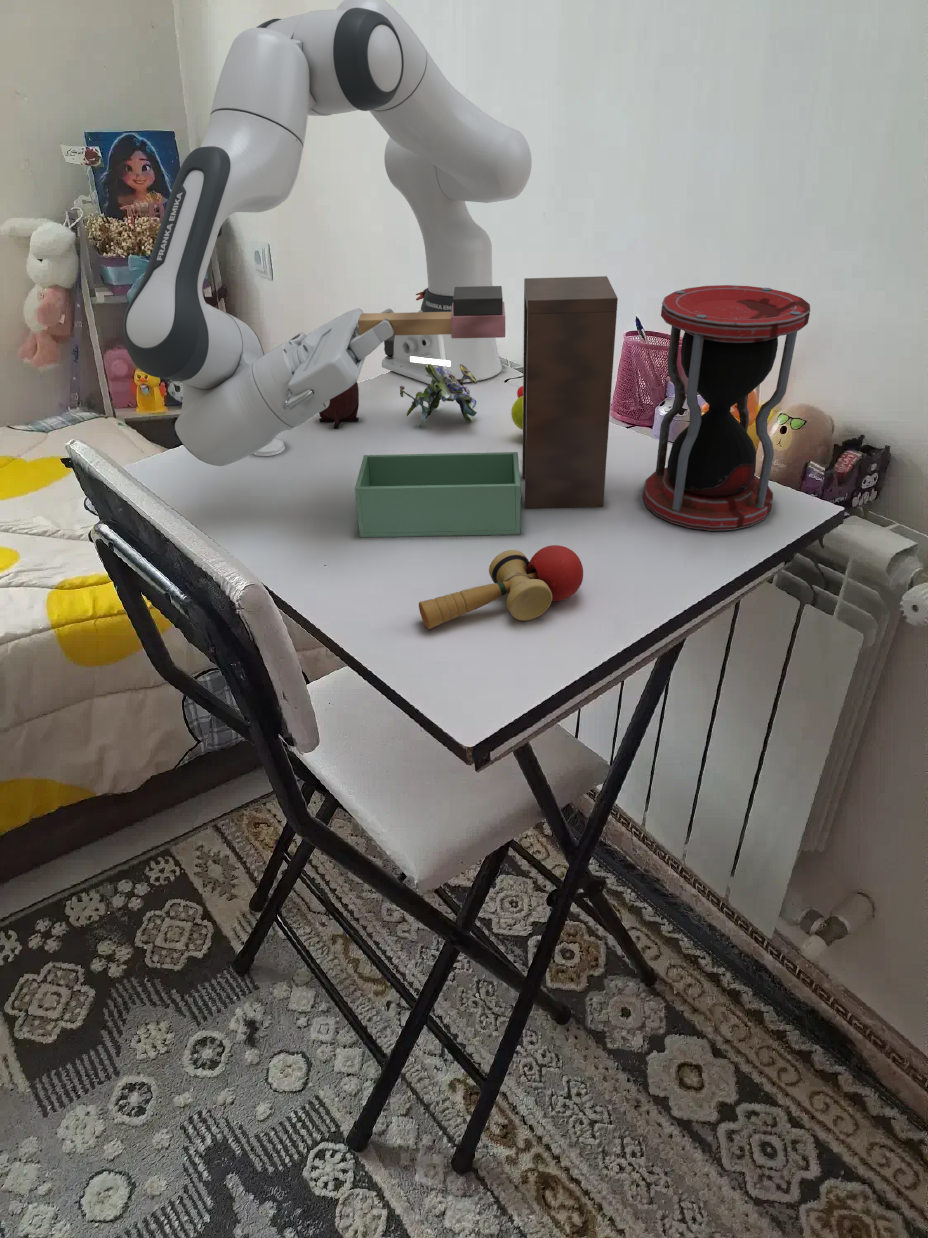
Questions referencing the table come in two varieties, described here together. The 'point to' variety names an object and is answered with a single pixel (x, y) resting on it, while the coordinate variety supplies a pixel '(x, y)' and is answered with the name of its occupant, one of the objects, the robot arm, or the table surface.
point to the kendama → (514, 586)
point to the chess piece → (271, 448)
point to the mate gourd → (342, 407)
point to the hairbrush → (451, 316)
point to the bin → (439, 494)
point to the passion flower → (444, 392)
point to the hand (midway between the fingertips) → (392, 319)
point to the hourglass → (721, 403)
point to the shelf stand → (567, 389)
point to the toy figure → (518, 409)
